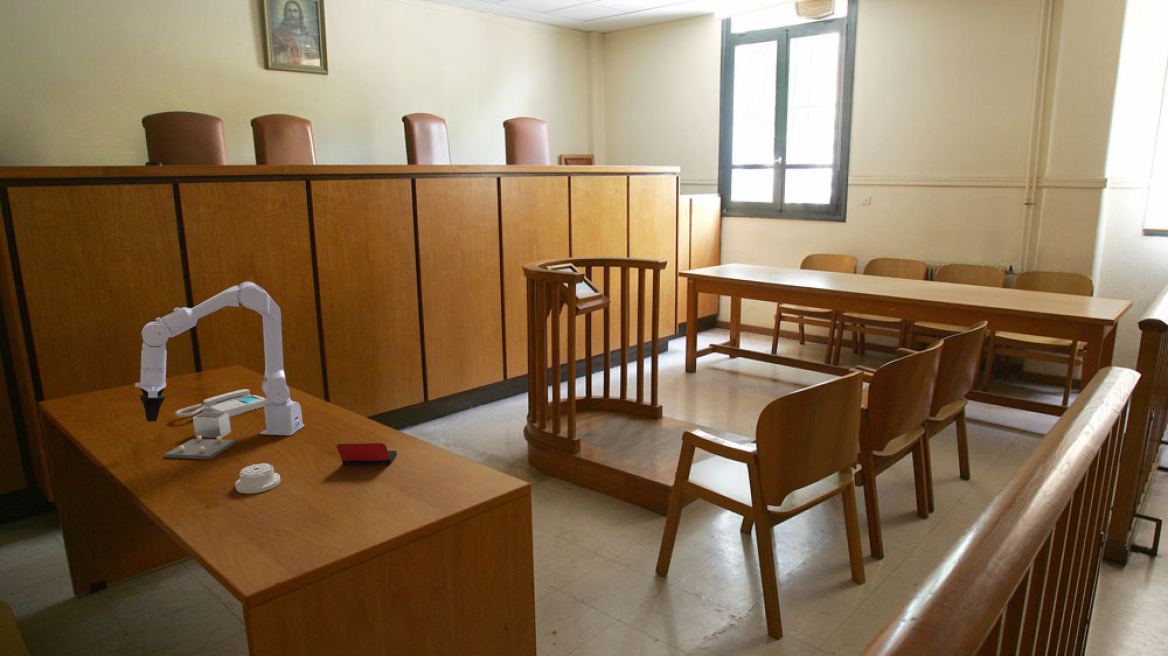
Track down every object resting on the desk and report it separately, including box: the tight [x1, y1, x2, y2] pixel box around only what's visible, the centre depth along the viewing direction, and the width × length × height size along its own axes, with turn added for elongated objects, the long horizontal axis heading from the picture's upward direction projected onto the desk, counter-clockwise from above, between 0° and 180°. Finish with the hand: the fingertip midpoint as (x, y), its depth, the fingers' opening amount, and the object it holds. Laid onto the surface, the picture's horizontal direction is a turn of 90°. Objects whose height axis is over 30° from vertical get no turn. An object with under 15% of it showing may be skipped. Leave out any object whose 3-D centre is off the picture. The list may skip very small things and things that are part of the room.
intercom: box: [174, 388, 266, 418], centre depth 226 cm, size 13×4×25 cm
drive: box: [192, 411, 232, 439], centre depth 208 cm, size 8×5×6 cm, turn 82°
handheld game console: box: [336, 442, 398, 466], centre depth 186 cm, size 12×11×7 cm
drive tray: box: [164, 436, 236, 460], centre depth 196 cm, size 13×11×2 cm
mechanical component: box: [234, 462, 281, 495], centre depth 174 cm, size 10×4×10 cm
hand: (151, 416), depth 192 cm, fingers open, 7 cm apart
